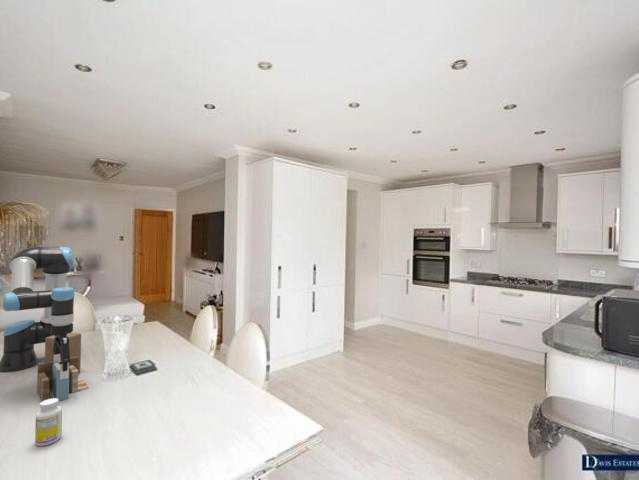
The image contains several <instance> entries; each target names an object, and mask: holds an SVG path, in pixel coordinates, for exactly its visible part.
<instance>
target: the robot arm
mask: <svg viewBox="0 0 639 480" xmlns="http://www.w3.org/2000/svg"><path fill="white" fill-rule="evenodd" d="M73 255H74V254H73V251H72V248H70V247H68V246H30V247H27V248H24V249H22V250H20V251H18V252H16V253H15V254H14V255H13V256H12V257H11V259H10V261H9V267H8V268H9V269H10V271H11V280H10V292H7V293H5V294H3V297H2V298H3V299H2V301H3V302H2V310H3V311H5V312H18V311H25V310H26V311H27V310H36V309H43V310H44V311H43V316H41V317H40V319H39V321H35V319H24V320H19V321H15V322H12V323H9V324H8V325H7V324H6V326H5V327H4V330H3V331H4V332H3V335H2V336H3V353H2V356H1V358H0V372H1V373H10V372H18V371H23V370H26V369H29V368H32V367H34V366H37V365H38V363H39V359H38V356H37V353H36V351H35V345H38V344H45V338H46V337H50V336H53V335H55V340H54V347H53V352H54V354H55V355H54V364H56V363H59V364H60V380H61V379H65V378H68V377H69V362H70V351H69V338H68V337H67V334H68V333H73V332H74V315H75V313H74V304H75V303H74V302H75V290H74V288H73V287H72V286H71V287H70V286H67V275H68V274H69V273H70V272H71V269H74V267H75V265H74V263H75V262H74V256H73ZM34 270H41V272H42V274H44V275H45V280H44V281H45V283H44V284H45V285H44V290H37V291H36V290H35V279H34V278H35V276H34ZM65 359H67V360H65Z"/></svg>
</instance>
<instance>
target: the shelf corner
mask: <svg viewBox="0 0 639 480" xmlns="http://www.w3.org/2000/svg"><path fill="white" fill-rule="evenodd" d="M65 360H67V359H65ZM53 364H54V361H52V362H48V363H45V362H43V363H40V364H38V363H37V377H36V378H37V382H36V394H37V395H38V397H39V399H40V402H43V401H45V400H48V399H50V391H52V374H53ZM71 365H73V366H74V367H75V368H76V369H77V370H78V356H76V357H72V358H70V362H69V366H71Z"/></svg>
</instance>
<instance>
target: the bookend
mask: <svg viewBox="0 0 639 480" xmlns="http://www.w3.org/2000/svg"><path fill="white" fill-rule="evenodd" d="M69 368H70V369H69V392H71V393H72V394H74V393H77V392H80V391H84V390H87V389H89V387H90V386H89V385H88V384H87V383H86V382H85V380H79V374H78V370H77V369H76V368H75V367H74V366H73V365H71V366H69Z"/></svg>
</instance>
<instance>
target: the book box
mask: <svg viewBox="0 0 639 480" xmlns="http://www.w3.org/2000/svg"><path fill="white" fill-rule="evenodd" d="M69 369H70V368H69ZM51 395H52V398H57V399H58V402H62V401H65V400H68V399H70V390H69V377H68V378H65V379H61V380H60V364H59V363H56V364H53V374H52V390H51Z"/></svg>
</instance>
